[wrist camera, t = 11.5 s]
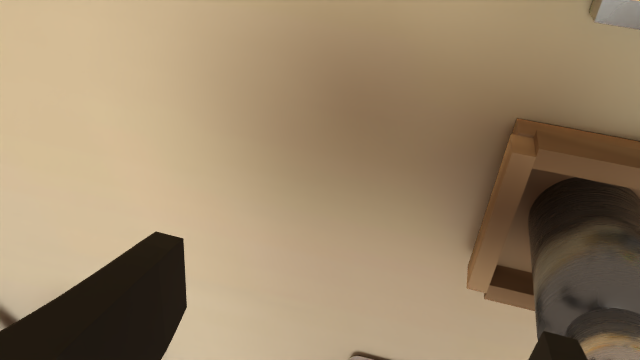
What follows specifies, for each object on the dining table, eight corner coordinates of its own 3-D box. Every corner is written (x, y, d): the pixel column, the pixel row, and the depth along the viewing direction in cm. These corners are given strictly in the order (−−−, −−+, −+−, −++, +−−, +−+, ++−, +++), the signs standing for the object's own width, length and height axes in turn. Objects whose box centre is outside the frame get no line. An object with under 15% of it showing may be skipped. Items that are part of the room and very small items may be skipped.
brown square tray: (636, 294, 21) (650, 338, 19) (466, 255, 22) (464, 294, 20) (720, 150, 18) (746, 189, 16) (512, 112, 18) (515, 143, 17)
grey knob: (666, 192, 18) (747, 372, 12) (616, 273, 20) (665, 460, 14) (550, 163, 18) (576, 325, 12) (513, 246, 20) (520, 416, 15)
